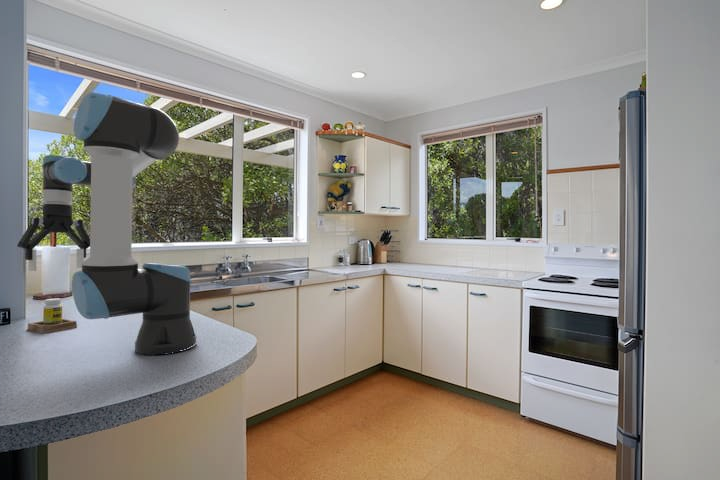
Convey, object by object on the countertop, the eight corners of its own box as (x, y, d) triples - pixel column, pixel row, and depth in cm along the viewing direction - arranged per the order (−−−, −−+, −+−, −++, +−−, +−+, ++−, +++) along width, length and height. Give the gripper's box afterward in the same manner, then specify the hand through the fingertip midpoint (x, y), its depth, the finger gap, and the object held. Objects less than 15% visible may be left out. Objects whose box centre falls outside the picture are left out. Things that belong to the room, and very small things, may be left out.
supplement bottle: (53, 326, 121) (54, 300, 121) (39, 326, 121) (39, 300, 121) (65, 323, 126) (66, 298, 125) (51, 323, 126) (51, 297, 126)
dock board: (76, 327, 125) (76, 321, 125) (44, 333, 117) (44, 326, 117) (59, 323, 129) (59, 318, 129) (27, 329, 121) (27, 323, 121)
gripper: (91, 207, 136) (90, 266, 136) (3, 200, 113) (2, 271, 114) (104, 206, 133) (104, 267, 133) (16, 199, 110) (16, 272, 110)
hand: (57, 269), depth 123 cm, fingers open, 13 cm apart
